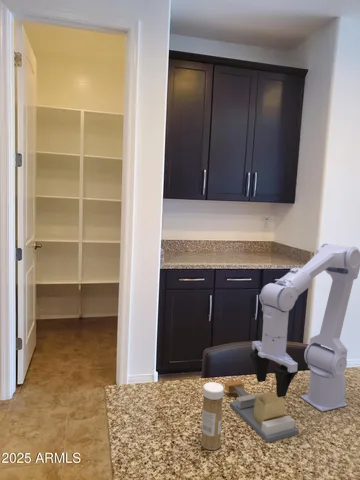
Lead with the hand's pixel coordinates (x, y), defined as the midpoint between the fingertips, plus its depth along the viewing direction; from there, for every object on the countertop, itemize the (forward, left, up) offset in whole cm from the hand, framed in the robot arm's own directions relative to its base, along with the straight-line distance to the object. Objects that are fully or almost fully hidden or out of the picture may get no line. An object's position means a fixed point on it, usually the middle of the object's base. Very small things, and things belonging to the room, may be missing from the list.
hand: (270, 388), depth 87 cm
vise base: (0, -3, -9) cm, 10 cm away
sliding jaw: (0, -12, -8) cm, 14 cm away
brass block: (0, 0, -8) cm, 8 cm away
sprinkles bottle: (+17, +1, -10) cm, 20 cm away
